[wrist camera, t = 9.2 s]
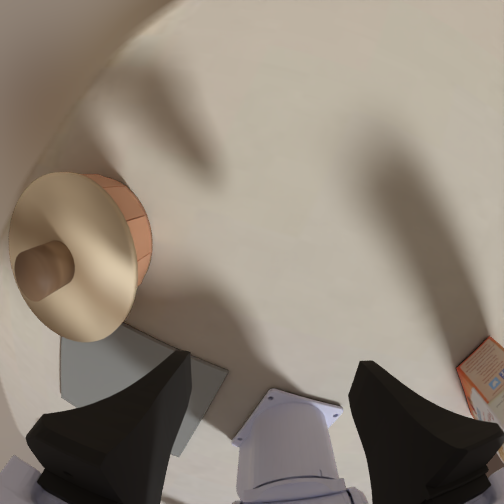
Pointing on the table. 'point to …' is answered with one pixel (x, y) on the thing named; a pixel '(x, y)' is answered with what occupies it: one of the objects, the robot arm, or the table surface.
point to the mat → (131, 373)
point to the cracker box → (485, 384)
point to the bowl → (130, 219)
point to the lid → (73, 256)
